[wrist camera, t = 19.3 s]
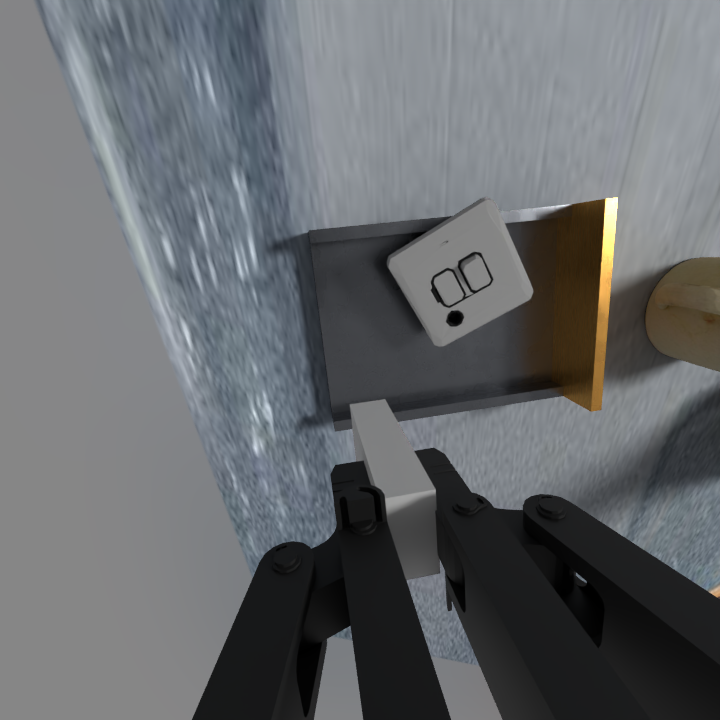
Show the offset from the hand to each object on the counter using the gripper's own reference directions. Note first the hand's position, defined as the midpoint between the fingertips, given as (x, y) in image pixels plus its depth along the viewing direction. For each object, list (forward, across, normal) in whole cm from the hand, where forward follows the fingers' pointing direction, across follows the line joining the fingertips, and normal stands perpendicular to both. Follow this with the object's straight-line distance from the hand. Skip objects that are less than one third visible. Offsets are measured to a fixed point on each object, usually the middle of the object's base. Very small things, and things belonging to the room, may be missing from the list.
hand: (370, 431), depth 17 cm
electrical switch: (+21, +14, +1) cm, 25 cm away
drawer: (+22, +11, 0) cm, 25 cm away
